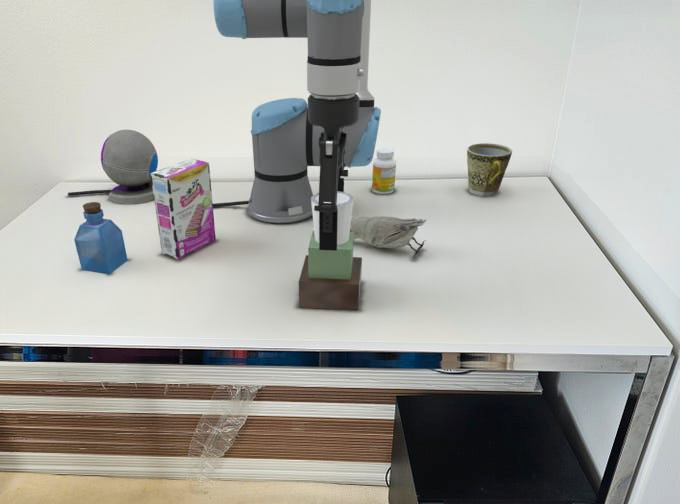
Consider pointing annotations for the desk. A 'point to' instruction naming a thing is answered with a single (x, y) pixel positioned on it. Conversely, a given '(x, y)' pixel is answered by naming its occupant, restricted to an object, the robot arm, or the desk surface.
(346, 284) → the walnut block
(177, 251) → the candy bar box
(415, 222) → the decorative bird
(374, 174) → the supplement bottle
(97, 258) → the perfume bottle
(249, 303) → the desk surface
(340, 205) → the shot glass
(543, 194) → the desk surface
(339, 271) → the green block
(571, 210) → the desk surface
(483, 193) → the ceramic cup
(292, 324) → the desk surface
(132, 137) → the grey ball on base
